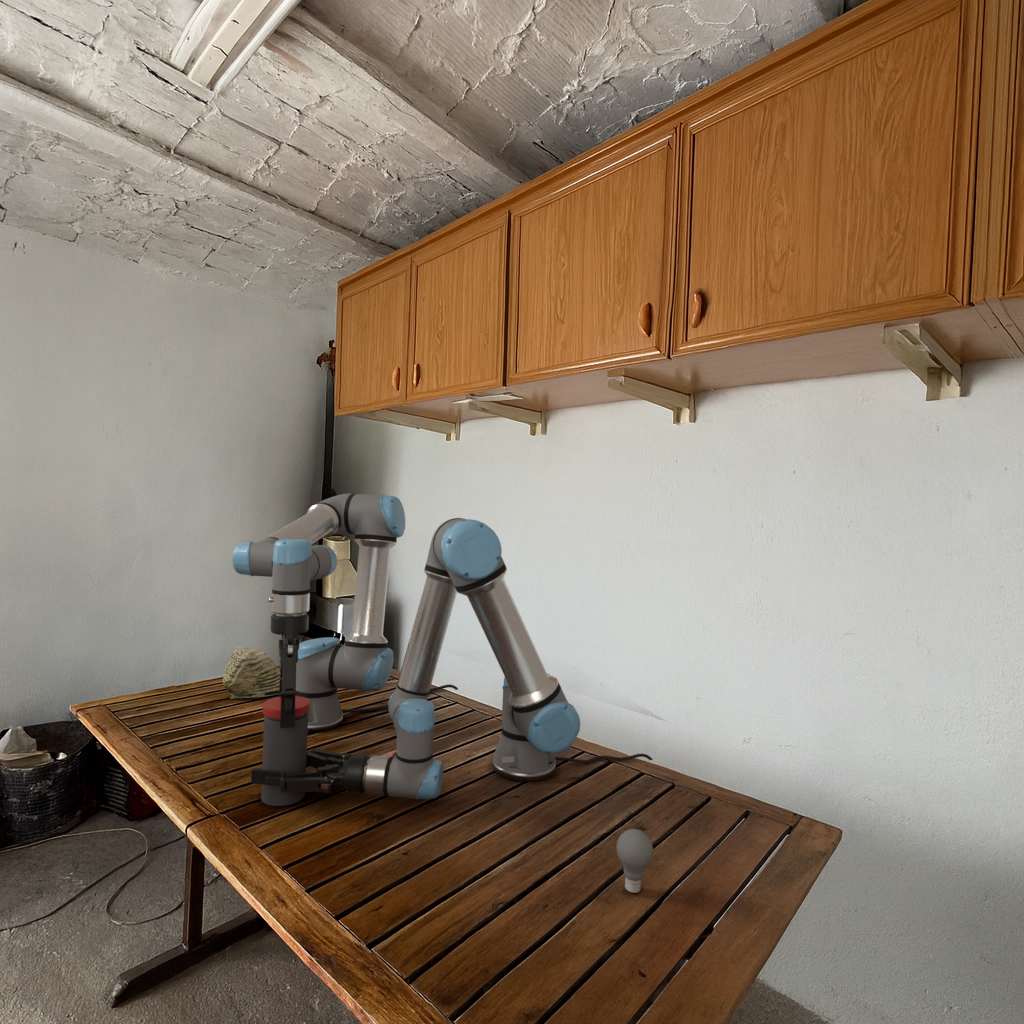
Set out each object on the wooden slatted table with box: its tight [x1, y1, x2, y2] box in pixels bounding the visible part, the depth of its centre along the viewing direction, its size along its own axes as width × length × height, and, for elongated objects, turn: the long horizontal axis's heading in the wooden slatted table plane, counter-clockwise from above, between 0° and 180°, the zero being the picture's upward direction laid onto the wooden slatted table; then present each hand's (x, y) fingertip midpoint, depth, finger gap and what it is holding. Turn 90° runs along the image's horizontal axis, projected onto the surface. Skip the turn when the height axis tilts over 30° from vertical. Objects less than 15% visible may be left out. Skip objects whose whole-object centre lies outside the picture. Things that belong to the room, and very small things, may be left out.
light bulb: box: [615, 828, 654, 894], centre depth 106 cm, size 6×6×10 cm
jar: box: [260, 713, 309, 807], centre depth 133 cm, size 9×9×19 cm
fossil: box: [222, 646, 282, 699], centre depth 198 cm, size 9×18×15 cm, turn 132°
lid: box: [262, 696, 310, 719], centre depth 133 cm, size 9×9×2 cm
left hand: (286, 717), depth 133 cm, fingers open, 11 cm apart
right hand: (263, 766), depth 134 cm, fingers closed on jar, 9 cm apart
